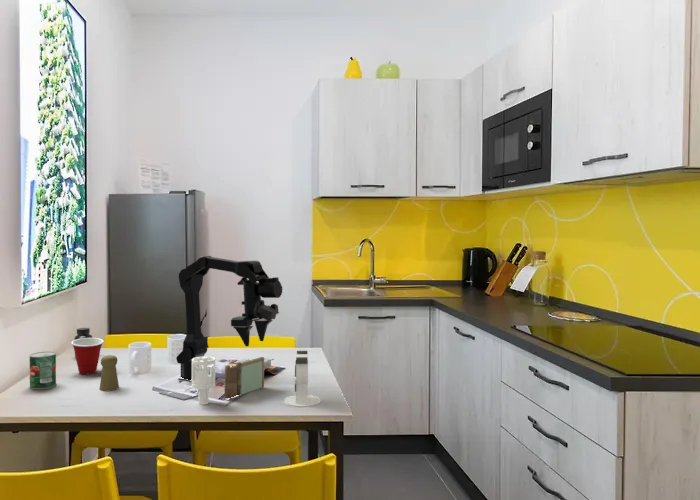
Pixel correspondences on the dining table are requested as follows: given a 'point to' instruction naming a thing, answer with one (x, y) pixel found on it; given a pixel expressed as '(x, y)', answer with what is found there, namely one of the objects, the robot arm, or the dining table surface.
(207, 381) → the white stepped cylinder
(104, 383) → the cork
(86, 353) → the plastic cup
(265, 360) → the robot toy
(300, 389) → the white stand
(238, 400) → the dining table surface
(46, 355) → the canned tomato
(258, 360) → the folding section
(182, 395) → the card
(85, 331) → the supplement bottle
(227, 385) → the fence fixed
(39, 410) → the dining table surface
